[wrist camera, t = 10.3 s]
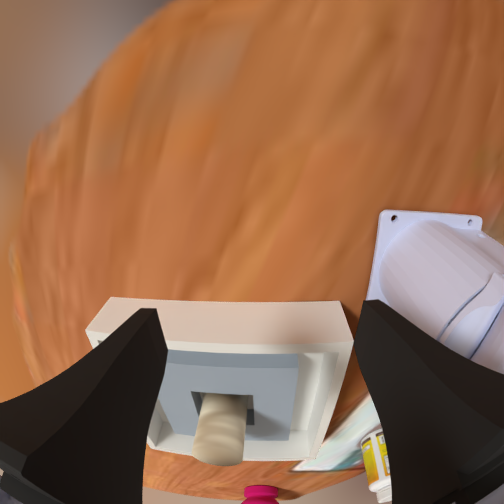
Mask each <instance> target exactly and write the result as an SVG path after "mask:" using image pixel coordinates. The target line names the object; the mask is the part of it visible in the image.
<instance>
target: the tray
mask: <svg viewBox="0 0 504 504" xmlns="http://www.w3.org/2000/svg"><path fill="white" fill-rule="evenodd" d="M140 308H157V312H158V316H159V320H160V324H161V327H162V331H163V334H164V338H165V341H166V345H167V348H168V349H171V350H183V351H196V352H213V353H240V354H297V355H298V365H299V370H298V378H297V386H296V393H295V401H294V408H293V415H292V421H291V428H290V434H289V440H286V441H254V440H244V451H243V460H247V461H293V460H311V459H316V457H317V454H318V452H319V449H320V447H321V444H322V442H323V439H324V437H325V434H326V431H327V428H328V426H329V423H330V420H331V417H332V414H333V411H334V408H335V405H336V402H337V399H338V396H339V393H340V390H341V386H342V383H343V380H344V376H345V373H346V369H347V366H348V362H349V358H350V355H351V351H352V347H353V343H354V340H353V337H352V334H351V331H350V329H349V326H348V323H347V320H346V317H345V314H344V312H343V309H342V306H341V303H340V301H317V302H207V301H176V300H154V299H136V298H120V297H110V299H109V300H108V301H107V302H106V304H105V305H104V306H103V307H102V309H101V310H100V311H99V313H98V314H97V315H96V316H95V318H94V319H93V320H92V322H91V323H90V324H89V326H88V327H87V328H86V330H85V331H86V333H87V336H88V338H89V340H90V343H91V345H92V347H93V349H94V348H95V347H96V346H98V345H99V344H100V343H101V342H102V341H104V340H105V339H106V338H107V337H108V336H109V335H110V334H111V333H113V332H114V331H115V330H116V329H117V328H118V327H119V326H120V325H122V324H123V323H124V322H125V321H126V320H127V319H128V318H129V317H130V316H132V315H133V314H134V313H135V312H136V311H138V310H139V309H140ZM204 393H205V392H200V395H201V399H202V402H203V398H204ZM247 409H254V402H253V395H248V406H247ZM194 438H195V436H190V435H182V434H176V433H174V431H173V429H172V427H171V424H170V422H169V420H168V418H167V416H166V414H165V412H164V410H163V408H162V405H161V403H160V401H159V399H158V398H157V401H156V405H155V408H154V412H153V415H152V419H151V422H150V426H149V431H148V435H147V443H148V445H149V446H150V448H151V449H156V450H161V451H166V452H172V453H178V454H184V455H191V456H193V455H192V448H193V443H194Z"/></svg>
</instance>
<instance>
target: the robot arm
mask: <svg viewBox="0 0 504 504" xmlns="http://www.w3.org/2000/svg"><path fill="white" fill-rule="evenodd" d="M393 215H395V216H396V218H395V220H393V221H391V217H392V216H393ZM469 220H470V221H469ZM468 221H469V223H468ZM481 227H482V218H481V217H479V216H476V215H465V214H452V213H438V212H422V211H404V210H384V211H382V212H381V213H380V216H379V222H378V231H377V238H376V245H375V252H374V259H373V265H372V271H371V276H370V282H369V287H368V292H367V297H366V300H365V301H363V305H362V310H361V314H360V319H359V323H358V327H357V332H356V336H355V340H354V347H355V351H356V356H357V359H358V363H359V367H360V369H361V372H362V375H363V377H364V380H365V382H366V385H367V387H368V390H369V392H370V395H371V397H372V400H373V403H374V405H375V408H376V410H377V413H378V416H379V419H380V422H381V426H382V430H383V435H384V439H385V444H386V449H387V455H388V461H389V468H390V478H391V489H392V504H504V246H503V245H501V244H500V243H498V242H497V241H496V240H494V239H493V238H491V237H490V236H488V235H487V234H485V233H484V232H482V231H481ZM167 355H168V348H167V345H166V341H165V338H164V334H163V331H162V327H161V324H160V320H159V316H158V312H157V308H140V309H139V310H138V311H136V312H135V313H134V314H133V315H132V316H130V317H129V318H128V319H127V320H126V321H125V322H124V323H123V324H122V325H120V326H119V327H118V328H117V329H116V330H115V331H114V332H113V333H111V334H110V335H109V336H108V337H107V338H106V339H105V340H104V341H102V342H101V343H100V344H99V345H98V346H96V347H95V348H94V349H93V350H91V351H90V352H89V353H88V354H87V355H85V356H84V357H83V358H82V359H80V360H79V361H78V362H76V363H75V364H74V365H72V366H71V367H70V368H68V369H67V370H65V371H64V372H62V373H61V374H59V375H58V376H56V377H54V378H53V379H51V380H49V381H47V382H46V383H44V384H42V385H40V386H38V387H37V388H35V389H33V390H31V391H29V392H27V393H25V394H22V395H20V396H18V397H15V398H13V399H11V400H8V401H5V402H3V403H0V468H1V469H2V470H3V471H4V472H3V475H2V476H1V475H0V504H142V486H143V469H144V458H145V450H146V442H147V435H148V431H149V426H150V422H151V419H152V415H153V412H154V408H155V405H156V401H157V398H158V395H159V391H160V388H161V384H162V381H163V378H164V374H165V368H166V362H167Z"/></svg>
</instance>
